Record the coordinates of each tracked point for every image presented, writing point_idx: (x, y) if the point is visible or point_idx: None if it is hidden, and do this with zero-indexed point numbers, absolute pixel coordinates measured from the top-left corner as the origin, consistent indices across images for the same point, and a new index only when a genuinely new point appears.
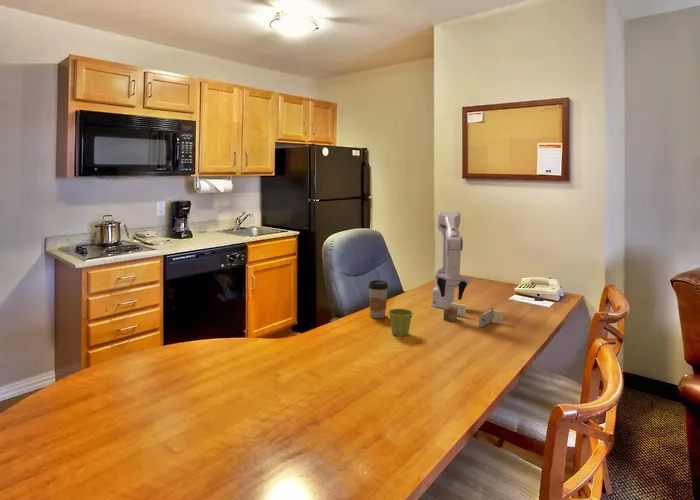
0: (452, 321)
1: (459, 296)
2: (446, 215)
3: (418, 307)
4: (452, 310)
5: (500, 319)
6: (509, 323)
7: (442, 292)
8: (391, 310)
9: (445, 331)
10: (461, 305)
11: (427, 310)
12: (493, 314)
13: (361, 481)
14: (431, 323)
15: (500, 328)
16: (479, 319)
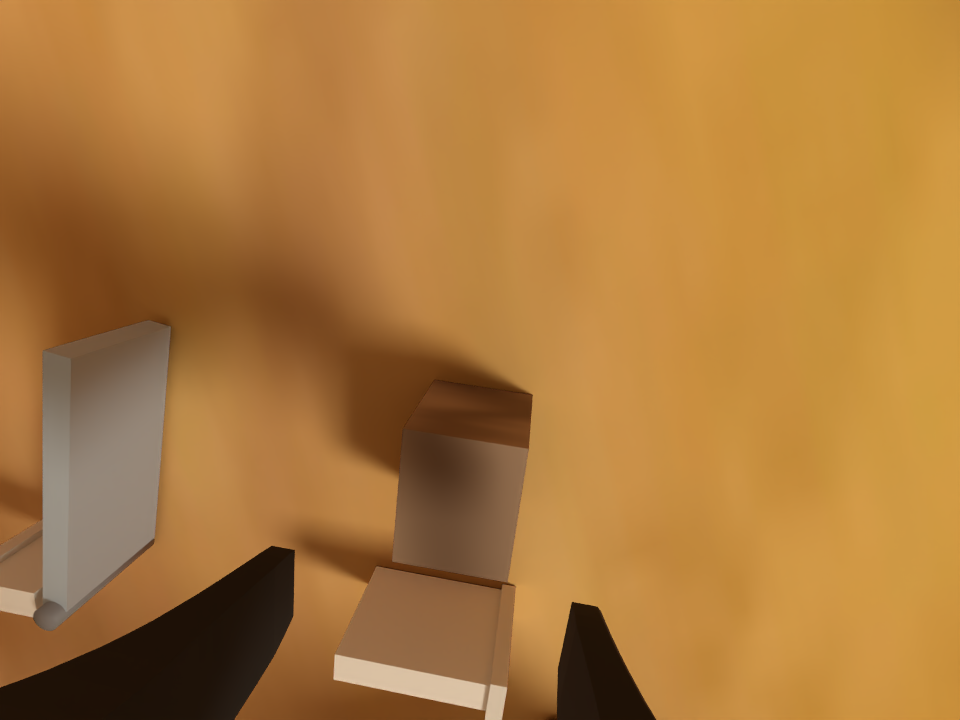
0: (434, 381)
1: (238, 574)
2: None
3: (873, 692)
4: (412, 428)
5: (34, 527)
6: None
7: (583, 662)
8: None
9: (411, 7)
10: (378, 660)
11: (759, 632)
12: None
13: None
14: (627, 220)
15: (24, 388)
16: (108, 343)
